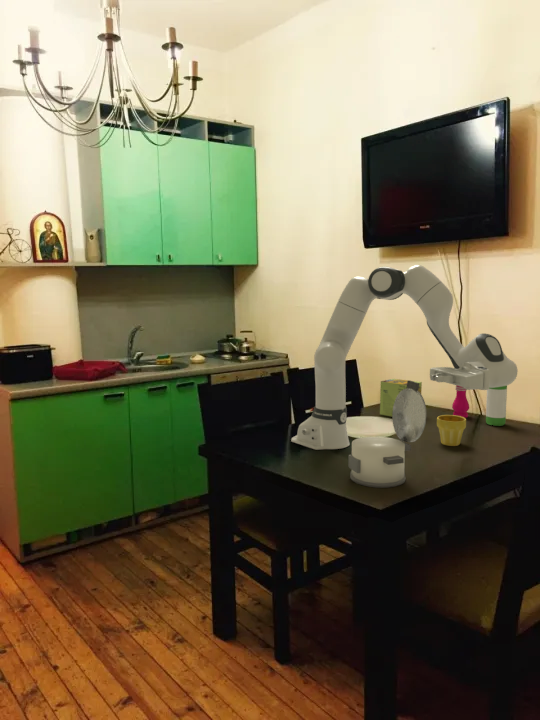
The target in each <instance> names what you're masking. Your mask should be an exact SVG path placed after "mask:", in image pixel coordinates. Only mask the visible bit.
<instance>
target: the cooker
mask: <svg viewBox="0 0 540 720" xmlns="http://www.w3.org/2000/svg"><path fill="white" fill-rule="evenodd" d="M411 447H412V446H411V444H409V443H408V442H404V441H402V440H401V439H400V440H399V439H397V438H393V437H386V436H363V437H358V438H355V439H354V440H352V441H351V454H348V468H349V469H350V470H351V471H349V474H350V480H351V481H352V482H354V483H355V484H357V485H360V486H364V487H368V488H379V489H381V488H382V489H384V488H385V489H387V488H394V487H399V486H401V485H403V484H404V483H405V482H406V473H405V459H406V457H405V453H406V452H408V451H411Z"/></svg>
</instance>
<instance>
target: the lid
mask: <svg viewBox="0 0 540 720" xmlns="http://www.w3.org/2000/svg"><path fill="white" fill-rule="evenodd" d="M407 380H408V379H407ZM414 381H415V380H414ZM414 381H413V380H408V382H407V388H406V389H403V390H402V391H401V392H400V393H399V394H398V395H397V397H396V399H395V402H394V406H393V412H392V419H391V420H392V426H393V429H394V432H395V434H396V436H397V437H398V438H399V439H400V440H401V441H403V442H405V443H413V442H416V441H417V440H418V439H419V438H421V436H422V435H423V432H424V430H425V427H426V423H427V407H426V406H427V405H426V401H425V398H424V396H423V395H422V392H421V393H420V392H419V391H418V389H419V383H417V382H418V381H417V382H414ZM399 439H398V440H399Z"/></svg>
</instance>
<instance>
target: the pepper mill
mask: <svg viewBox="0 0 540 720" xmlns="http://www.w3.org/2000/svg"><path fill="white" fill-rule="evenodd" d="M455 390H456V396H455V399H454V400H453V403H452V404H451V407H452V408H451V409H452V410H453V412H452V415H456V416H461V417H464V418H465V419H467V418H468V417H469V413H468V411H469V410H470V403H469V401H468V398H467V391H468V390H467V389H465V388H463V387H461V386H457V385H455Z"/></svg>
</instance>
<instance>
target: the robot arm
mask: <svg viewBox="0 0 540 720" xmlns="http://www.w3.org/2000/svg"><path fill="white" fill-rule="evenodd" d="M403 294H404V295H407V296H408V297H409V298H411V299H412V301H414V303H416V305H417V306H418V307H419V308H420V310H421V311H422V313H423V316H424V317H425V321H426V325H427V327H428V329H429V331H430V333H431V334H432V335H433V336H434V338H435V340H436V341H437V342H438V344H439V345H440V347H441V348H442V349H443V351H444V352H445V353H446V355H447V357H448V358H449V359H450V361H451V364H452V366H453V367H451V366H450V367H449V366H446V367H445V366H440V367H439V366H437V367H430V369H429V380H430V381H432V382H437V383H446V384H449V385H454V386H456V385H457V386H461V387H463V388H465V389H467V390H466V391H468V390H470V391H471V390H480V391H487V390H488V389H489V388H495V387H502V386H506V385H507V386H509V385H511V384H512V383H513V382H515V380H516V379H517V377H518V372H519V371H518V367H517V366H518V365H517V364H516V363H515V361H513V360H511V359H510V358H509V357H508V356H507V355H506V353H504V350H503V348H502V345H501V342H500V341H499V340H498V339H497V337H496V336H494V335H492V334H489V333H479V334H477V335H476V336H475V337H474V338H473V339H472V340H470V341H469V342H468V344H467V345H465V346H464V345H462V343H461V342H460V340H459V338H458V337H457V336H456V335H455V333H454V332H453V330H452V329H451V326H450V316H451V312H452V310H453V306H454V305H453V304H454V299H453V298H454V296H453V294H452V292H451V291H450V289H449V288H448V287H447V285H445V283H443V282H442V280H441V279H440V278H439V277H437V275H436V274H434V273H433V272H432V271H431V270H429V269H428V268H426V267H425V266H423V265H420V264H415V265H413V266H410V267H409V268H407V270H404V271H402V270H400V269H398V268H393V267H389V266H380V267H377V268H375V269H374V270H372V271H371V273H370V274H369V276H368V278H367V277H364V276H355V277H351V279H350V280H348V283H347V284H346V285H345V287H344V288H343V291H342V292H341V294H340V296H339V298H338V301H337V303H336V305H335V307H334V309H333V311H332V313H331V314H332V315H331V316H330V319H329V321H328V323H327V326H326V328H325V331H324V333H323V335H322V337H321V340H320V342H319V344H318V346H317V348H316V350H315V352H314V359H313V361H314V381H315V406H313V407H311V408H310V409H309V412H310V413H311V412H312V413H311V416H309V417H307V419H305V420H304V421H303V422H301V423H300V424H299V425H298V428H297V434H296V435H295V436H293V437H291V439H290V440H291V441H290V442H292V443H295V444H297V445H301V446H303V447H306V448H309V449H313V450H317V451H318V450H338V449H339V450H340V449H344V448H347V447H349V446H350V445H351V443H350V440H349V439H350V438H349V436H348V430H347V419H348V417H347V415H348V412H347V411H348V410H347V409H348V408H347V406H346V405H347V404H346V399H347V397H346V395H347V394H346V393H347V392H346V390H347V389H346V387H347V386H346V383H347V382H346V359H347V356H348V354H349V352H350V349H351V347H352V345H353V343H354V341H355V339H356V337H357V335H358V332H359V330H360V328H361V326H362V324H363V321H364V319H365V317H366V314H367V313H368V310H369V308H370V306H371V304H372V302H373V301H374V300H376V299H377V300H387V301H392V300H396V299H399V298H400V297H401V296H402V295H403Z"/></svg>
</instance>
